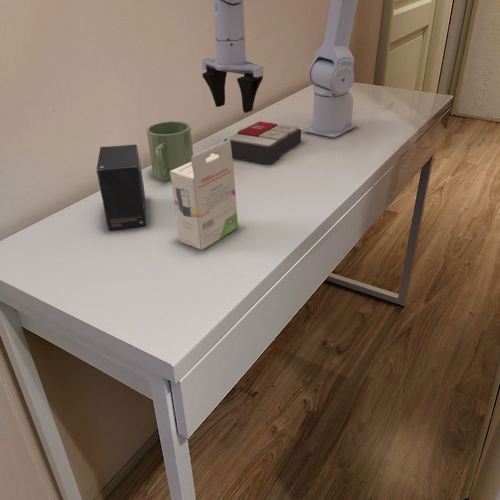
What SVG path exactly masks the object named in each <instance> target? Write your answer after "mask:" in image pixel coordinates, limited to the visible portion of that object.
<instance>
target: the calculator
mask: <svg viewBox="0 0 500 500" xmlns="http://www.w3.org/2000/svg"><path fill="white" fill-rule="evenodd" d="M228 139H229V140H230V142H231V150H232V159H238V160H242V161H248V162H253V163H259V164H265V165H271V164H273V163H274V162H276V161H278V160H279V159H280V157H281V156H282V155H283V154H284V153H286V152H288V151H290V149H293V148H294V147H296V146H297V145H299V144H300V143H302V129H301V128H299V126H295V125H288V124H281V123H280V124H278V123H275V122H269V121H268V122H267V121H261V120H260V121H257V122H255V123H253V124H251V125H248V126H247V127H245V128H242V129H241V130H238V131H237V133H235V134H232V135H230V136H228V137H227V138H225V139H224V141H223V142H225V141H226V140H228Z"/></svg>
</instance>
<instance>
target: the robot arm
mask: <svg viewBox="0 0 500 500" xmlns="http://www.w3.org/2000/svg"><path fill="white" fill-rule="evenodd" d="M244 1H245V0H212V7H213V25H214V37H215V53H216V58H215V57H214V58H213V57H205V58H203V59H201V66H202V70H204V71H205V72H203V73H202V78H203V80H204V81H205V82H206V85H207V86H208V88H209V90H210V93H211V95H212V98H213V101H214V104H215V108H220V107H222V106H225V104H226V79H227V76H228V75H227V74H228V73H232V74H238V75H243V76H239V77H237V78H236V82H237V84H238V87H239V90H240V94H241V105H242V112H243V113H245V114H247V113H250V112H253V110H254V104H255V99H256V97H257V96H256V95H257V92H258V89H259V87H260V85H261V83H262V81H263V79H264V65H263V64H258V63H256V62H255V63H254V62H252V61H248V60H247V59H246V58H247V57H246V34H245V11H244V10H245V9H244V8H245V7H244ZM358 3H359V0H330V5H329V10H328V14H327V15H328V16H327V21H326V27H325V34H324V39H323V43H322V45H321V46H320V47H319V48H318V49H317V50H316V51H315V55H314V59H313V61H312V63H311V64H310V66H309V69H308V80H309V83H311V84H312V85H313V88H312V89H313V118H312V119H313V120H312V126H310V127H308V128H306V129H305V133H310V134H314V135H319V136H323V137H328V138H333V139H334V138H337V137H338V136H341V135H342V134H344V133H346V132H348V131H350V130H352V129H354V128H355V127H356V126H355V125H356V124H353V123H352V121H353V109H354V98H353V97H354V96H353V95H352V93H351V91H350V90H351V88H352V87H353V85H354V82H355V71H354V64H355V58H354V56H353V53H352V52H351V50H350V43H351V38H352V34H353V28H354V22H355V18H356V13H357V8H358Z"/></svg>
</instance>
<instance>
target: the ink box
mask: <svg viewBox="0 0 500 500" xmlns="http://www.w3.org/2000/svg"><path fill="white" fill-rule="evenodd" d="M170 175H171V180H170V181H171V190H172V195H173V202H174V211H175V216H176V224H177V231H178V237H179V242H180V243H183V244H185V245H188V246H190V247H193V248H195V249H197V250H201V251H203V250H205V249H207V248H208V247H209V246H211V245H213V244H215V243H216V242H218V241H219V240H221V239H223V238H224V237H226V236H227V235H229V234H231V233H232V232H234V231H235V230H237V229H238V227H239V223H238V209H237V196H236V182H235V181H236V180H235V166H234V158H232V150H231V142H230V140H229V139H228V140H226V141H225V142H224V141H223V142H220V143H217V144H215V145H213V146H210V147H208V148H206V149H204V150H202V151H201V152H198V153H195V154H193V156H192V158H191V162H189V163H187V164H185V165H183V166H180V167H178V168H176V169H173V170H171V171H170Z"/></svg>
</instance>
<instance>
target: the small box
mask: <svg viewBox="0 0 500 500" xmlns="http://www.w3.org/2000/svg"><path fill="white" fill-rule="evenodd" d="M140 160H141V159H140V154H139V149H138V145H137V144H125V145H112V146H100V147H99V152H98V158H97V165H96V176H97V180H98V185H99V189H100V196H101V200H102V204H103V209H104V216H105V222H106V228H107V231H110V230H120V229H127V228H136V227H144V226H146V225H147V212H146V210H147V208H146V193H145V185H144V177H143V170H142V165H141V161H140Z"/></svg>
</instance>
